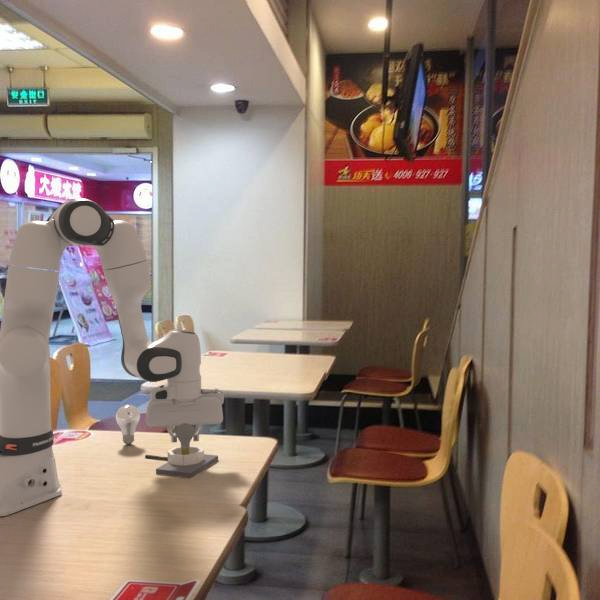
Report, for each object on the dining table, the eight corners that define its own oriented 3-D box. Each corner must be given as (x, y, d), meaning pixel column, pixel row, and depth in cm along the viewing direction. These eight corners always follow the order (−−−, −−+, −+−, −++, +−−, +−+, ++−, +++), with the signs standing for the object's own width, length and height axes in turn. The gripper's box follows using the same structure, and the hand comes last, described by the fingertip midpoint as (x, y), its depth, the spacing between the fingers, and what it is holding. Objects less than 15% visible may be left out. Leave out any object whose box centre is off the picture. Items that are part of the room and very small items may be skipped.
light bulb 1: (116, 449, 181) (115, 408, 180) (116, 442, 187) (115, 403, 187) (140, 447, 182) (140, 406, 182) (140, 440, 189) (139, 401, 188)
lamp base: (190, 477, 156) (190, 463, 156) (123, 469, 162) (122, 455, 162) (218, 459, 170) (217, 446, 170) (154, 452, 177) (154, 440, 176)
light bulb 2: (186, 451, 170) (185, 415, 169) (200, 455, 167) (199, 418, 166) (170, 456, 166) (170, 419, 165) (184, 460, 162) (184, 422, 162)
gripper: (223, 386, 170) (223, 436, 171) (146, 389, 166) (147, 440, 167) (224, 390, 164) (225, 442, 165) (144, 393, 160) (145, 446, 161)
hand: (185, 441), depth 166 cm, fingers closed on light bulb 2, 4 cm apart
